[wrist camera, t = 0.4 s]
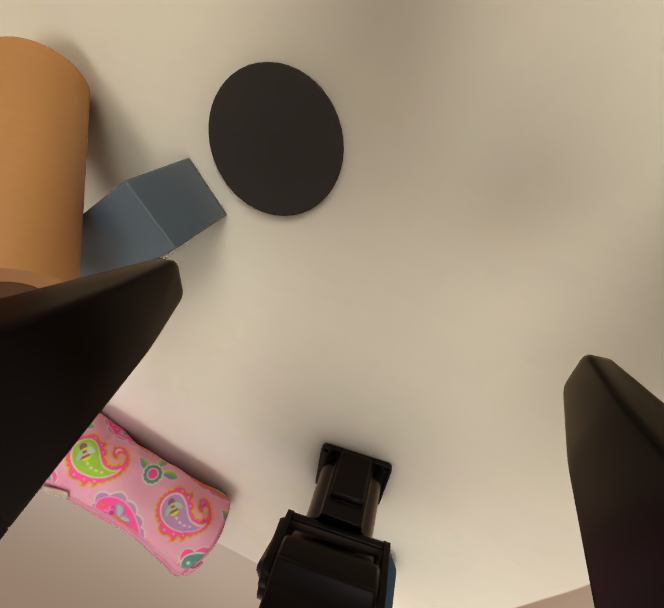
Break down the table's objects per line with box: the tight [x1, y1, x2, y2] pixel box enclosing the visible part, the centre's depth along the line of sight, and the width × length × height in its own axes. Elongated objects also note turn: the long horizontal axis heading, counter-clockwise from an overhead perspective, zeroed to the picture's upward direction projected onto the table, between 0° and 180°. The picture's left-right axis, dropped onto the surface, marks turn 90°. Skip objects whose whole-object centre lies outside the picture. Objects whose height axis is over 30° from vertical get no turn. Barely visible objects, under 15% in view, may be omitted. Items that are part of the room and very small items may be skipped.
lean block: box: [79, 158, 226, 278], centre depth 24 cm, size 4×9×6 cm, turn 121°
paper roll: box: [0, 37, 90, 298], centre depth 19 cm, size 13×5×13 cm, turn 31°
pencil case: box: [39, 413, 230, 576], centre depth 40 cm, size 21×9×9 cm, turn 55°
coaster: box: [209, 62, 344, 216], centre depth 21 cm, size 8×8×1 cm
